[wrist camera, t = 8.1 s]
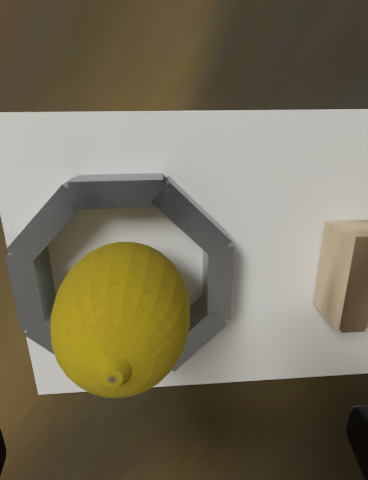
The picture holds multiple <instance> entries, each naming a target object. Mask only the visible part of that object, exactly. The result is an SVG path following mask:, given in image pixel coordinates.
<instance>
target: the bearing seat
mask: <svg viewBox="0 0 368 480" xmlns="http://www.w3.org/2000/svg"><path fill="white" fill-rule="evenodd" d="M148 207H157V208H158V209H159V210H160V211H161V212H162V213H163V214H164V215H165V216H167V217H168V218H169V219H170V220H171V221H172V222H173V223H174V224H175V225H176V226H178V227H179V228H180V229H181V230H182V231H183V232H184V233H185V234H186V235H188V236H189V237H190V238H191V239H192V240H193V241H194V242H195V243H196V244H197V245H199V246H200V247H201V248H202V249H203V277H202V296H201V297H200V298H199V299H198V300H197V301H196V302H195V303H193V304H192V305H191V306H190V327H189V331H188V335H187V339H186V343H185V346H184V349H183V352H182V354H181V356H180V358H179V359H178V361H177V363H176V364H175V366H174V368H173V369H172V370H173V371H174V372H175V371H176V370H177V369H178V368H179V367H180V366H181V365H183V364H184V363H185V362H186V361H187V360H188V359H189V358H191V357H192V356H193V355H194V354H195V353H196V352H197V351H198V350H200V349H201V348H202V347H203V346H204V345H205V344H206V343H208V342H209V341H210V340H211V339H212V338H213V337H214V336H215V335H217V334H218V333H219V332H220V331H221V330H222V329H223V328H225V327H226V326H227V325H228V322H227V320H231V299H232V277H233V255H234V246H233V244H232V243H231V242H232V241H231V239H230V238H229V236H228V235H227V233H226V231H225V230H224V228H223V227H222V226H221V225H220V224H219V223H218V222H217V221H215V220H214V219H213V218H212V217H211V216H210V215H209V214H208V213H207V212H206V211H205V210H204V209H203V208H202V207H201V206H200V205H199V204H198V203H197V202H196V201H195V200H194V199H193V198H192V197H190V196H189V195H188V194H187V193H186V192H185V191H184V190H183V189H182V188H181V187H180V186H179V185H178V184H177V183H176V182H175V181H174V180H173V179H172V178H171V177H170V176H169V175H168V176H167V177H166V178H165V179H164V180H163V173H138V174H91V175H78V176H76V177H75V178H74V177H73V178H72V179H70V180H68V181H67V182H65V183H64V184H62V185H61V186H60V187H59V189H58V190H57V191H56V192H55V193H54V194H53V196H52V197H51V198H50V199H49V200H48V201H47V202H46V204H45V205H44V206H43V207H42V208H41V209H40V211H39V212H38V213H37V214H36V215H35V216H34V218H33V219H32V220H31V221H30V222H29V223H28V224H27V226H26V227H25V228H24V229H23V230H22V231H21V233H20V234H19V235H18V236H17V237H16V238H15V240H14V241H13V242H12V243H11V244H10V245H9V246H8V248H7V249H6V250H7V251H8V253H6V254H5V260H6V265H7V269H8V274H9V278H10V283H11V288H12V292H13V297H14V301H15V306H16V311H17V315H18V320H19V325H20V329H21V331H23V330H27V331H26V333H25V334H24V335H25V336H26V337H28V338H29V339H31V340H33V341H34V342H36V343H37V344H39V345H40V346H42V347H43V348H45V349H46V350H48V351H49V352H51V353H53V354H54V351H53V349H52V344H51V326H50V321H51V314H52V309H53V306H54V302H55V298H56V293H55V287H54V281H53V275H52V269H51V263H50V257H49V251H48V244H49V243H50V242H51V241H52V240H53V239H54V238H55V237H56V235H57V234H58V233H59V232H60V231H61V230H62V229H63V228H64V227H65V225H66V224H67V223H68V222H69V221H70V220H71V219H72V218H73V217H74V215H75V214H76V213H77V212H78V211H79V210H80V209H112V208H148ZM54 355H55V354H54ZM169 374H170V373H169Z"/></svg>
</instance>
